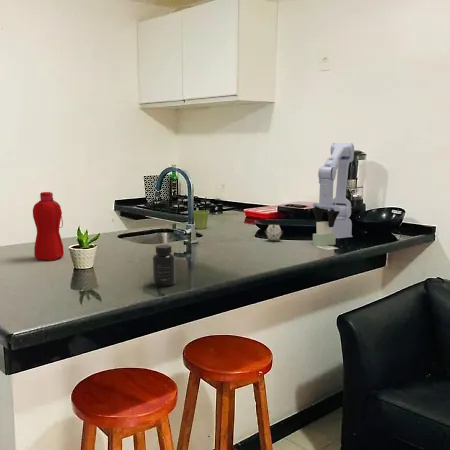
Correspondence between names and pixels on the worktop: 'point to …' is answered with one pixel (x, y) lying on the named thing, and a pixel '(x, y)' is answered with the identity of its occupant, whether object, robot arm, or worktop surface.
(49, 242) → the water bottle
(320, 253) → the worktop surface
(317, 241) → the sage brick
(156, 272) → the supplement bottle
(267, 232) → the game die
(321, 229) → the ivory brick
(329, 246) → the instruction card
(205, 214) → the plant pot
